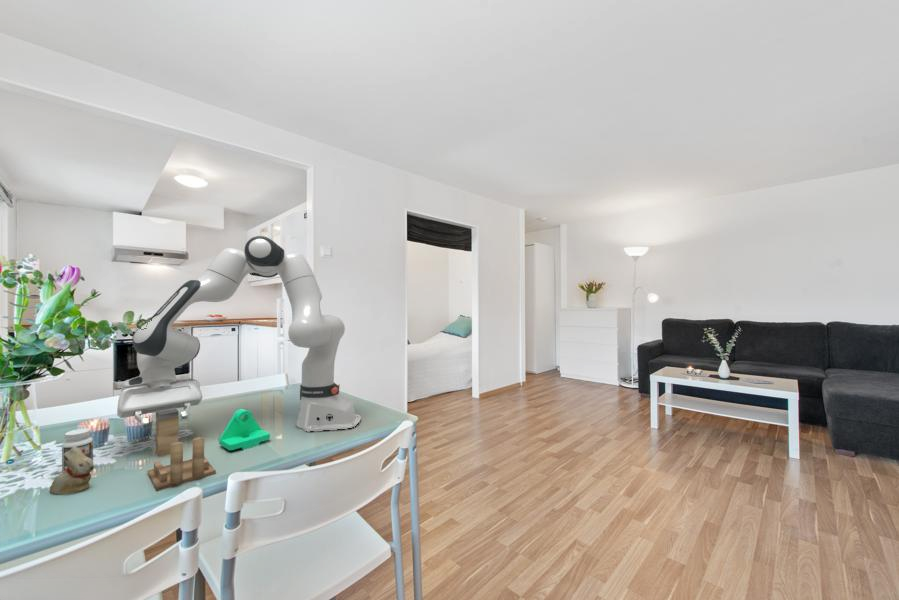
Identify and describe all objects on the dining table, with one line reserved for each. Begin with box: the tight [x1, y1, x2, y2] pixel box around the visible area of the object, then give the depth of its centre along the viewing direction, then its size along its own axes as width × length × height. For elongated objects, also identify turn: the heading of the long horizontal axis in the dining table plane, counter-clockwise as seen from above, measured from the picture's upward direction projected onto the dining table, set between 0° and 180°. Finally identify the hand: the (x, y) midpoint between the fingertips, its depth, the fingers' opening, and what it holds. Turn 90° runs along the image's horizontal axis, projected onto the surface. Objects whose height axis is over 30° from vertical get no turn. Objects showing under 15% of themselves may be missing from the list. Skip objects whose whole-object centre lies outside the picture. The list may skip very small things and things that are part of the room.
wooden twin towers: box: [147, 436, 217, 492], centre depth 93 cm, size 13×12×10 cm
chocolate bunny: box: [49, 447, 95, 495], centre depth 85 cm, size 6×8×10 cm
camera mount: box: [218, 408, 271, 451], centre depth 113 cm, size 12×8×10 cm, turn 142°
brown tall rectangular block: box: [154, 408, 180, 458], centre depth 106 cm, size 4×4×12 cm
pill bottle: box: [61, 428, 94, 473], centre depth 95 cm, size 6×6×10 cm
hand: (165, 421), depth 108 cm, fingers open, 8 cm apart
